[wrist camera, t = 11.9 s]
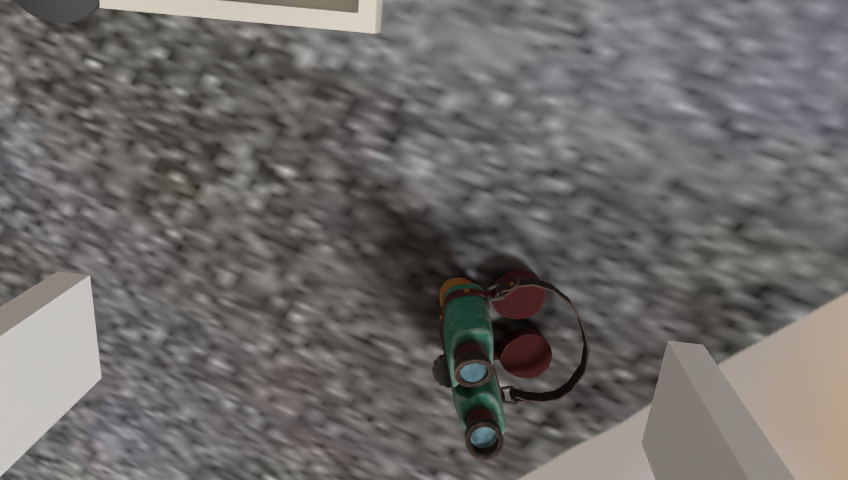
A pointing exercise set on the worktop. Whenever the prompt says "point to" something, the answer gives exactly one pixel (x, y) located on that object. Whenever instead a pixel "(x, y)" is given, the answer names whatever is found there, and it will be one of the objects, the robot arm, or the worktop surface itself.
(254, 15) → the mount tray
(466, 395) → the binoculars
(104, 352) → the worktop surface
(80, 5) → the lens cap
